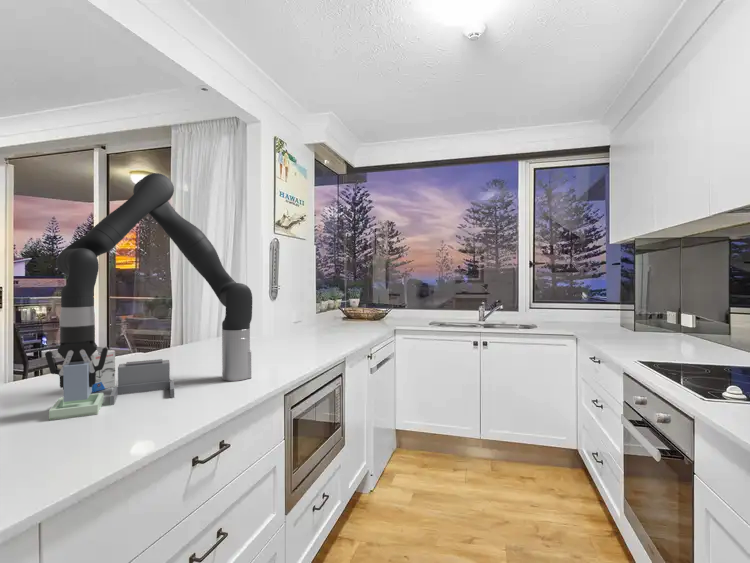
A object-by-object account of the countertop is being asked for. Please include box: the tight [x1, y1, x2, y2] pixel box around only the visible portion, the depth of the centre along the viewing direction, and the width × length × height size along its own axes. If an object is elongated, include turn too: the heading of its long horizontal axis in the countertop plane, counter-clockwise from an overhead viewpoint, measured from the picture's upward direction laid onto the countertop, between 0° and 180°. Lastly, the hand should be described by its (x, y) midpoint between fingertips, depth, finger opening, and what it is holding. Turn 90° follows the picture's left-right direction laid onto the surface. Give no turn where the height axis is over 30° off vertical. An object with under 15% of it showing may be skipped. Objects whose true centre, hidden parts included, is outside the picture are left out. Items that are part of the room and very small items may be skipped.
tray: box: [48, 392, 105, 421], centre depth 110 cm, size 10×13×2 cm
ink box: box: [91, 349, 116, 393], centre depth 131 cm, size 9×5×12 cm, turn 168°
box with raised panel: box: [63, 361, 93, 402], centre depth 110 cm, size 5×8×10 cm, turn 27°
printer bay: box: [109, 358, 175, 406], centre depth 126 cm, size 16×18×9 cm
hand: (78, 387), depth 110 cm, fingers closed on box with raised panel, 5 cm apart
